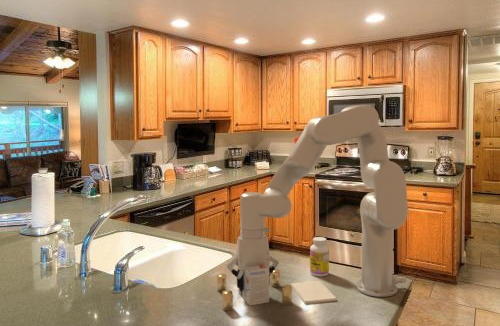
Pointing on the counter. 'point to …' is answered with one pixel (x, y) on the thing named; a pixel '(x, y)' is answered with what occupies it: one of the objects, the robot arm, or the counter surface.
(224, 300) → the brass cylinders
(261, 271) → the light bulb box
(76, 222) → the counter surface
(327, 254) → the supplement bottle
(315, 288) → the plate
